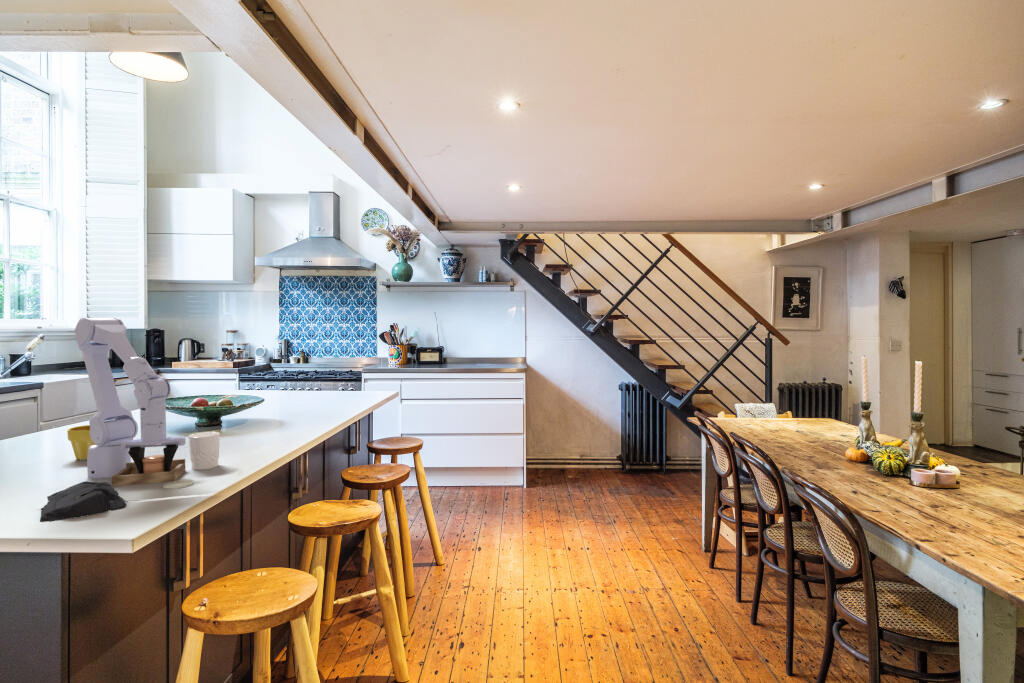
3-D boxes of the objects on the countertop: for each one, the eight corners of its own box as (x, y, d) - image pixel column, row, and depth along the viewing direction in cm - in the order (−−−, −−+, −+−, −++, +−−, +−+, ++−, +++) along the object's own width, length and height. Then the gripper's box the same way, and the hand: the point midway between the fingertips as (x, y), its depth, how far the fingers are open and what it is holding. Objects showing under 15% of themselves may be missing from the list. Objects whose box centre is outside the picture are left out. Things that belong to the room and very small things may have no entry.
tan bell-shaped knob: (139, 481, 145) (138, 460, 145) (146, 475, 150) (145, 455, 150) (163, 479, 146) (163, 458, 146) (169, 474, 152) (169, 454, 152)
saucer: (156, 493, 136) (156, 489, 136) (165, 484, 144) (165, 480, 144) (191, 490, 139) (191, 486, 139) (198, 481, 146) (198, 478, 146)
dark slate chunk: (119, 489, 142) (118, 470, 142) (127, 510, 125) (126, 490, 125) (41, 501, 132) (40, 481, 132) (38, 527, 115) (37, 504, 115)
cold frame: (112, 488, 141) (111, 472, 141) (127, 477, 151) (127, 462, 151) (174, 483, 145) (174, 468, 145) (185, 472, 155) (185, 458, 155)
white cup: (226, 465, 163) (225, 431, 163) (209, 472, 156) (208, 437, 155) (201, 464, 164) (200, 431, 164) (183, 471, 156) (182, 436, 156)
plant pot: (92, 461, 169) (92, 430, 169) (59, 462, 169) (58, 430, 169) (117, 454, 179) (116, 424, 179) (86, 454, 179) (85, 424, 179)
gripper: (116, 427, 142) (117, 479, 142) (179, 424, 146) (181, 474, 147) (126, 423, 149) (127, 473, 149) (186, 419, 153) (188, 468, 153)
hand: (154, 473), depth 148 cm, fingers closed on tan bell-shaped knob, 5 cm apart
